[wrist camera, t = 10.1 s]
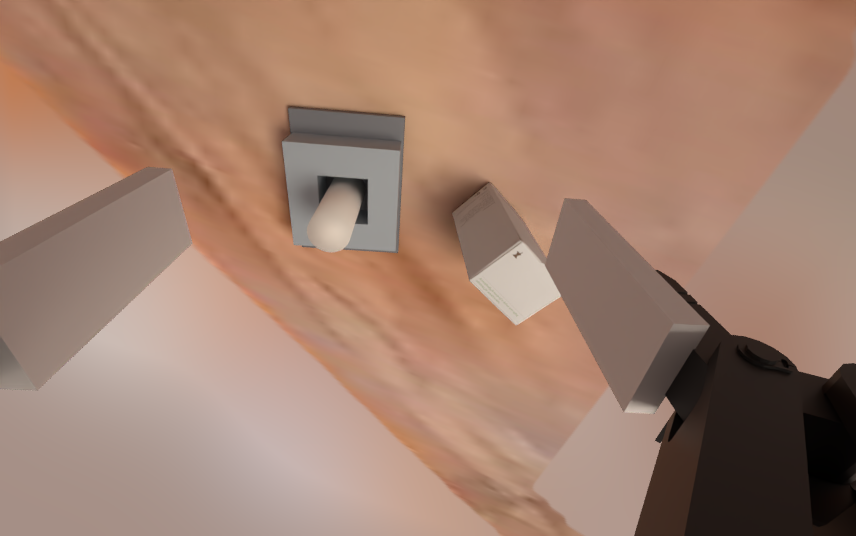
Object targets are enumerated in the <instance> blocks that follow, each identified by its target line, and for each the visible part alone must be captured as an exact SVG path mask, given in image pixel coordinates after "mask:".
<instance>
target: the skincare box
mask: <svg viewBox="0 0 856 536" xmlns="http://www.w3.org/2000/svg"><path fill="white" fill-rule="evenodd" d="M452 215H453V218H454V222H455V226H456V230H457V234H458V238H459V242H460V245H461V249H462V253H463V257H464V261H465V265H466V269H467V273H468V277H469V281H470V282H471V283H472V284H473V285H474V286H475V287H476V288H477V289H478V290H479V291H480V292H482V293H483V294H484V295H485V296H486V297H487V298H488V299H489V300H490V301H491V302H492V303H493V304H494V305H495V306H496V307H497V308H498V309H499V310H500V311H501V312H502V313H503V314H504V315H505V316H506V317H507V318H509V319H510V320H511V321H512V322H513V323H514V324H515V325H518V324H519V323H521V322H523V321H524V320H526V319H527V318H529V317H530V316H532V315H533V314H535V313H536V312H538V311H539V310H541V309H542V308H544V307H546V306H547V305H549V304H550V303H552V302H553V301H555V300H556V299H558V298H560V297H561V295H560V293H559V291H558V289H557V287H556V285H555V284H554V282H553V280H552V278H551V276H550V274H549V272H548V271H547V269H546V267H545V263H546V260H547V258H546V256H545V255H544V253H543V251H542V250H541V248H540V247H539V245H538V243H537V242H536V240H535V239H534V237H533V236H532V234H531V232H530V231H529V229H528V227H527V226H526V224H525V222H524V221H523V220H522V218H521V217H520V216H519V215H518V213H517V212H516V211H515V210H514V209H513V207H512V206H511V205H510V204H509V203H508V201H507V200H506V199H505V198H504V197H503V196H502V195H501V193H500V192H499V191H498V190H497V189H496V188H495V187H494V186H493V184H492V183H488V184H487V185H485V186H484V187H483V188H482V189H480V190H479V191H478V192H477V193H476V194H474V195H473V196H472V197H471V198H469V199H468V200H467V201H466V202H465V203H463V204H462V205H461V206H460V207H459V208H457V209H456V210H455V211H454V212H453V213H452Z"/></svg>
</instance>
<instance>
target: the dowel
mask: <svg viewBox="0 0 856 536" xmlns="http://www.w3.org/2000/svg"><path fill="white" fill-rule="evenodd" d="M364 194H365V184H364V182H363V180H362V179H358V178H345V177H335V178H334V179H333V181H332V183H331V184H330V186H329V188H328V190H327V192H326V193H325V195H324V197H323V199H322V200H321V202H320V204H319V206H318V207H317V209H316V211H315V213H314V215H313V216H312V218H311V220H310V222H309V224H308V226H307V235H308V238H309V240H310V242H311V243H312V244H313V245H314V246H315V247H316V248H318V249H320V250H322V251H325V252H337V251H340V250H342V249H344V248H345V247H346V246H347V245H348V243H349V241H350V238H351V235H352V232H353V228H354V225H355V222H356V219H357V216H358V213H359V210H360V207H361V204H362V201H363V197H364Z"/></svg>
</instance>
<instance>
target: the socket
mask: <svg viewBox="0 0 856 536" xmlns="http://www.w3.org/2000/svg"><path fill="white" fill-rule="evenodd" d="M288 113H289V122H290V132H291V134H290V135H289V136H288V137H286V138H285V139H284V140H283V141H282V147H283V156H284V164H285V173H286V182H287V190H288V199H289V208H290V216H291V225H292V234H293V242H294V245H302V247H312V248H316V247H315V246H314V245H313V244H312V243H311V242H310V240H309V238H308V235H307V226H308V224H309V222H310V220H311V218H312V216H313V215H314V213H315V211H316V209H317V207H318V206H319V204H320V202H321V200H322V199H323V197H324V195H325V193H326V192H327V190H328V188H329V186H330V184H331V183H332V181H333V179H334V178H335V177H345V178H358V179H362V180H363V182H364V184H365V194H364V197H363V201H362V204H361V207H360V210H359V213H358V216H357V219H356V222H355V225H354V228H353V232H352V235H351V238H350V241H349V243H348V245H347V246H346V247H345V248H344V250H360V251H376V252H392V253H398V246H399V226H400V207H401V187H402V167H403V148H404V128H405V116H396V115H385V114H373V113H362V112H350V111H338V110H327V109H315V108H304V107H292V106H290V107H289V108H288Z"/></svg>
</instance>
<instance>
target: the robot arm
mask: <svg viewBox="0 0 856 536" xmlns="http://www.w3.org/2000/svg"><path fill="white" fill-rule="evenodd" d="M191 244H192V240H191V236H190V232H189V229H188V225H187V222H186V218H185V214H184V211H183V207H182V203H181V200H180V196H179V193H178V189H177V185H176V182H175V178H174V174H173V171H172V169H168V168H155V167H146V168H144V169H142V170H140V171H138V172H136V173H134V174H132V175H131V176H129V177H127V178H125V179H123V180H121V181H119V182H117V183H115V184H113V185H111V186H109V187H107V188H105V189H103V190H101V191H99V192H97V193H95V194H93V195H91V196H89V197H87V198H85V199H83V200H81V201H79V202H77V203H75V204H74V205H72V206H70V207H68V208H66V209H64V210H62V211H60V212H58V213H56V214H54V215H52V216H50V217H48V218H46V219H44V220H42V221H40V222H38V223H36V224H34V225H32V226H30V227H28V228H26V229H24V230H22V231H20V232H18V233H16V234H14V235H12V236H11V237H9V238H7V239H5V240H3V241H1V242H0V389H15V390H38V389H39V388H40V387H41V386H43V385H44V384H45V383H46V382H47V381H48V380H49V379H50V378H51V377H52V376H53V375H54V374H55V373H56V372H57V371H58V370H60V369H61V368H62V367H63V366H64V365H65V364H66V363H67V362H68V361H69V360H70V359H71V358H72V357H73V356H74V355H75V354H76V353H77V352H78V351H79V350H81V348H83V346H85V345H86V344H87V343H88V342H89V341H90V340H91V339H92V338H93V337H94V336H95V335H96V334H97V333H99V332H100V331H101V330H102V329H103V328H104V327H105V326H106V325H107V324H108V323H109V322H110V321H111V320H112V319H113V318H114V317H115V316H116V315H117V314H118V313H120V312H121V311H122V309H124V308H125V307H126V306H127V305H128V304H129V303H130V302H131V301H132V300H133V299H134V298H135V297H136V296H138V295H139V294H140V293H141V292H142V291H143V290H144V289H145V288H146V287H147V286H148V285H149V284H150V283H151V282H152V281H153V280H154V279H155V278H156V277H157V276H159V275H160V273H162V272H163V271H164V270H165V269H166V268H167V267H168V266H169V265H170V264H171V263H172V262H173V261H174V260H175V259H177V258H178V257H179V256H180V255H181V254H182V253H183V252H184V251H185V250H186V249H187V248H188V247H189V246H190V245H191ZM545 267H546V269H547V271H548V272H549V274H550V276H551V278H552V280H553V282H554V284H555V285H556V287H557V289H558V291H559V293H560V295H561V297H562V298H563V300H564V302H565V304H566V306H567V308H568V310H569V311H570V313H571V315H572V317H573V319H574V321H575V323H576V324H577V326H578V328H579V330H580V332H581V334H582V336H583V337H584V339H585V341H586V343H587V345H588V347H589V349H590V350H591V352H592V354H593V356H594V358H595V360H596V362H597V363H598V365H599V367H600V369H601V371H602V373H603V375H604V376H605V378H606V380H607V382H608V384H609V386H610V388H611V389H612V391H613V393H614V395H615V397H616V399H617V401H618V402H619V404H620V406H621V408H622V410H623V412H625V413H650V414H655V412H656V411H657V409H658V407H659V406H660V404H661V403H662V401H663V400H664V398H665V396H666V397H667V398H668V400H669V401H670V403H671V404H672V406H673V407H674V409H675V411H674V413H673V414H672V416H671V417H670V419H669V420H668V422H667V423H666V425H665V426H664V428H663V429H662V431H661V432H660V434H659V435H658V437H657V438H656V440H655V441H657V442H659V443H661V441H662V443H661V447H660V450H659V454H658V457H657V460H656V464H655V467H654V471H653V474H652V477H651V481H650V484H649V487H648V491H647V494H646V497H645V501H644V505H643V508H642V511H641V514H640V518H639V521H638V525H637V528H636V531H635V535H634V536H856V364H854V363H852V364H843V365H842V366H841V367H840V368H839V369H838V370H837V371H836V372H835V373H834V374H833V376H832V377H831V378H830V379H826V378H822V377H818V376H815V375H811V374H806V373H803V372H799V371H798V370H797V368H796V366H795V365H794V364H793V363H792V362H791V361H790V360H789V359H788V358H787V357H786V356H784V355H783V354H782V353H780V352H779V351H777V350H776V349H774V348H772V347H771V346H768V345H766V344H764V343H762V342H760V341H757V340H754V339H751V338H748V337H744V336H736V335H731V334H730V333H729V332H728V331H726V330H725V329H724V328H723V327H722V326H721V325H720V324H719V323H718V322H717V321H716V320H715V319H714V318H713V317H712V316H711V315H710V314H709V313H708V312H707V311H706V310H705V309H704V308H703V307H702V306H701V305H697V301H696V300H695V299H694V298H693V297H692V296H691V295H687V291H686V290H684V289H683V288H682V287H681V286H680V285H679V284H678V283H677V282H676V281H675V280H673V279H672V278H670V277H669V276H667V275H665V274H664V273H662V272H660V271H659V270H655V269H654V268H653V267H652V266H651V265H650V264H649V263H648V262H647V261H646V260H645V259H644V258H643V257H642V256H641V255H640V254H639V253H638V252H637V251H636V250H635V249H634V248H633V247H632V246H631V245H630V244H629V243H628V242H627V241H626V240H625V239H624V238H623V237H622V236H621V235H620V234H619V233H618V232H617V231H616V230H615V229H614V228H613V227H612V226H611V225H610V224H609V223H608V222H607V221H606V220H605V219H604V218H603V217H602V216H601V215H600V214H599V213H598V212H597V211H596V210H595V209H594V208H593V207H592V206H591V205H590V204H589V202H588V201H587V200H581V199H567V198H565V199H564V202H563V205H562V209H561V212H560V216H559V219H558V222H557V226H556V229H555V233H554V236H553V239H552V243H551V246H550V250H549V253H548V256H547V260H546V263H545Z"/></svg>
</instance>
